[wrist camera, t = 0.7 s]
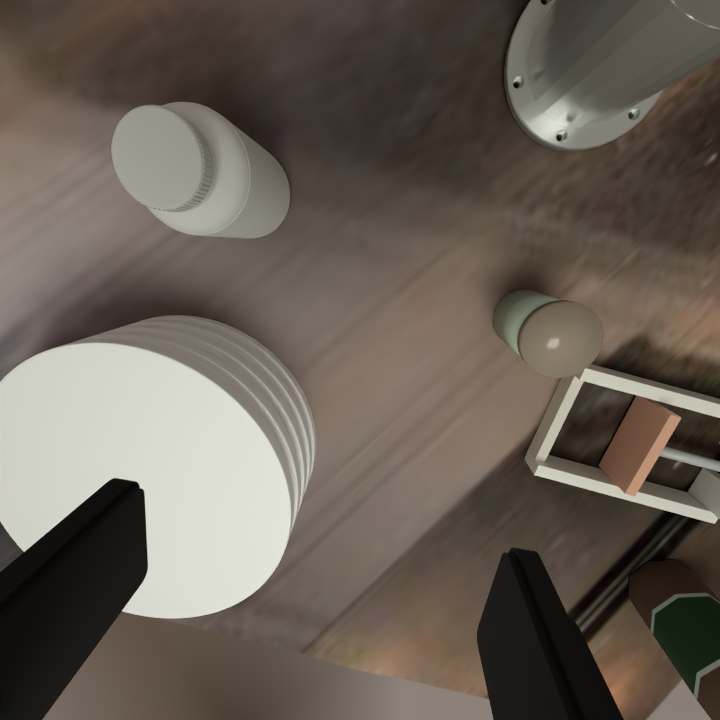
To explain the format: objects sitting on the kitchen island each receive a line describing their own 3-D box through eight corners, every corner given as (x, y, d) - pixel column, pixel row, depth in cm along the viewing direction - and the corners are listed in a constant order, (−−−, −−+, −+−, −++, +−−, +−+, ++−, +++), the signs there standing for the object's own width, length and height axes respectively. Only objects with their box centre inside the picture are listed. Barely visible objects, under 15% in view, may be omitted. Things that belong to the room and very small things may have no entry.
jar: (504, 280, 35) (540, 293, 27) (562, 296, 35) (617, 314, 27) (482, 338, 37) (509, 366, 29) (538, 353, 37) (582, 386, 29)
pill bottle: (310, 192, 34) (253, 156, 20) (255, 256, 36) (168, 265, 22) (245, 124, 33) (135, 34, 19) (192, 194, 35) (57, 161, 21)
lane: (570, 358, 37) (609, 383, 30) (754, 408, 37) (834, 444, 30) (524, 458, 41) (550, 500, 34) (691, 504, 41) (750, 555, 34)
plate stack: (63, 478, 47) (-37, 550, 36) (107, 270, 38) (-5, 281, 27) (268, 563, 48) (233, 657, 37) (355, 381, 40) (342, 433, 29)
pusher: (637, 394, 37) (670, 414, 33) (762, 428, 37) (813, 453, 33) (598, 465, 40) (624, 493, 35) (715, 497, 40) (756, 529, 35)
